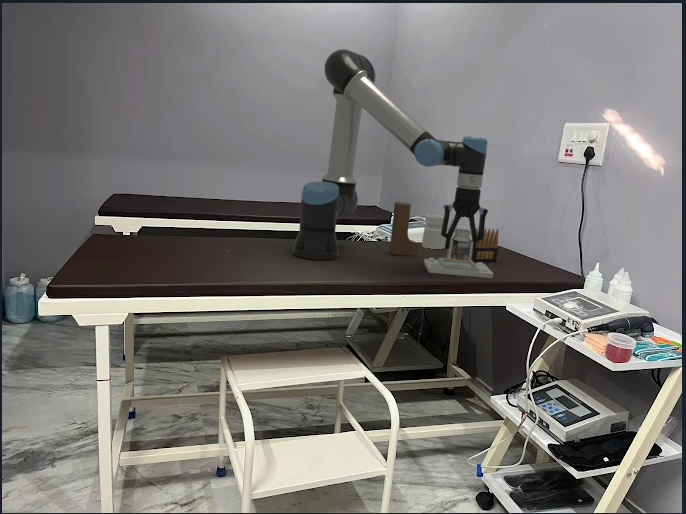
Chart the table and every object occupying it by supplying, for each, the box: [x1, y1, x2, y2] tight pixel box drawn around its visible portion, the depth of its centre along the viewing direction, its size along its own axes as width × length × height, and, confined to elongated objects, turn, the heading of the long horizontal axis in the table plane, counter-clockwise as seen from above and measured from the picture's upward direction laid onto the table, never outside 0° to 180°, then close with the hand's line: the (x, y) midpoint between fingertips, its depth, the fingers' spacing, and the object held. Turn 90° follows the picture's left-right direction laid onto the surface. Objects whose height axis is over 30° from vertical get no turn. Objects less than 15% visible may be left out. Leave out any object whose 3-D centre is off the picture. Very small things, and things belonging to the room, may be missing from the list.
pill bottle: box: [451, 228, 472, 262], centre depth 176 cm, size 6×6×10 cm
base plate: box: [423, 257, 494, 279], centre depth 178 cm, size 20×12×2 cm, turn 89°
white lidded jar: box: [421, 213, 448, 250], centre depth 210 cm, size 9×9×12 cm
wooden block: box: [388, 201, 419, 257], centre depth 193 cm, size 9×4×18 cm, turn 104°
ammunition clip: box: [471, 227, 500, 263], centre depth 193 cm, size 11×2×12 cm, turn 114°
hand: (458, 259), depth 177 cm, fingers closed on pill bottle, 6 cm apart
